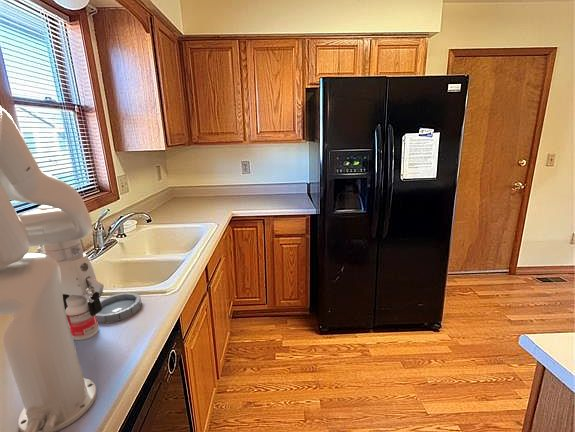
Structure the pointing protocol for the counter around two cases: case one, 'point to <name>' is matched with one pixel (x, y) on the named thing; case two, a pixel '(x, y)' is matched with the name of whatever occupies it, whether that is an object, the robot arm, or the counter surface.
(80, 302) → the pill bottle
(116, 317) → the round grey tray
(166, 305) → the counter surface
